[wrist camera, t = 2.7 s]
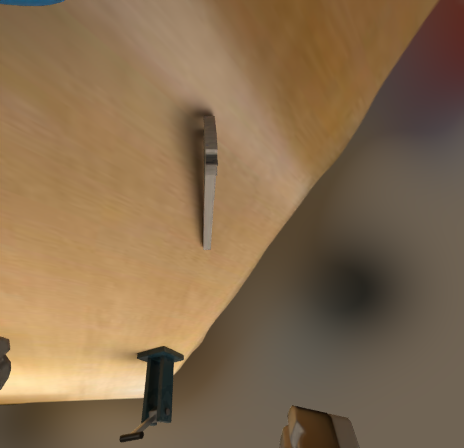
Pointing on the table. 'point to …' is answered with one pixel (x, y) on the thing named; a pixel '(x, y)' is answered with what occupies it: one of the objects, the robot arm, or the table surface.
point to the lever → (140, 427)
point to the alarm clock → (30, 2)
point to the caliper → (209, 177)
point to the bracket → (159, 382)
